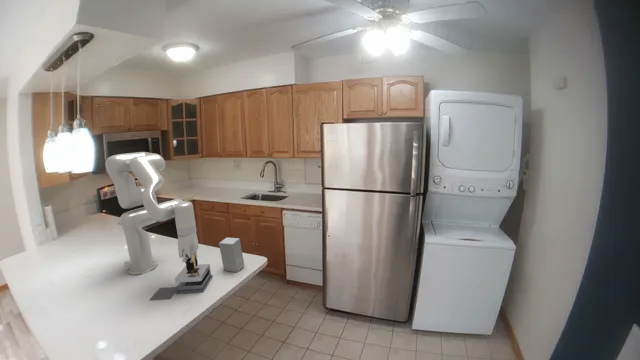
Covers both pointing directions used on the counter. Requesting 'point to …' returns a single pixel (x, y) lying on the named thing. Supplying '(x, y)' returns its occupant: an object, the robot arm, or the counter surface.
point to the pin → (194, 265)
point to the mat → (164, 293)
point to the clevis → (193, 280)
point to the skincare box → (231, 254)
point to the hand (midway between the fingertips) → (192, 267)
